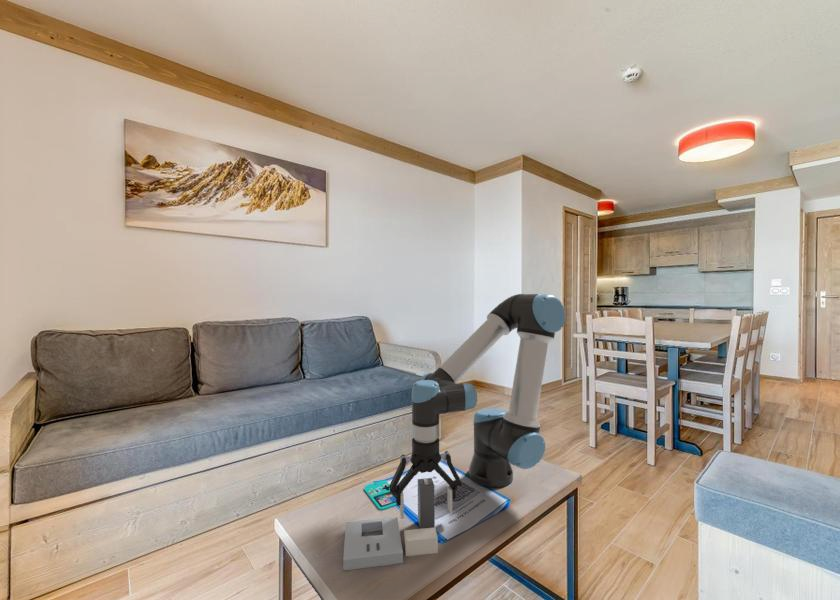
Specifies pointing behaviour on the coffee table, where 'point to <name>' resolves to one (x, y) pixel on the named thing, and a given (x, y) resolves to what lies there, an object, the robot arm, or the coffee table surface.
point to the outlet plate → (372, 544)
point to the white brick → (420, 541)
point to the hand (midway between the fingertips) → (426, 513)
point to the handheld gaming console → (379, 493)
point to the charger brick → (426, 503)
